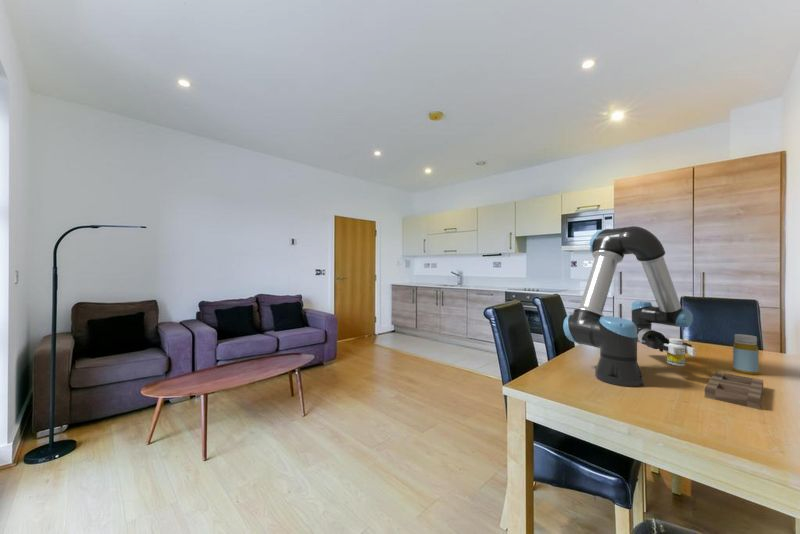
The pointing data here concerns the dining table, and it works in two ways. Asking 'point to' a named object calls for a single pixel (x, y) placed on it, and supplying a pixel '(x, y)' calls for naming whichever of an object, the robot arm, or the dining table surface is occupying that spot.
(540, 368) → the dining table surface
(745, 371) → the bottle
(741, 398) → the slot rack
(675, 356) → the supplement bottle
